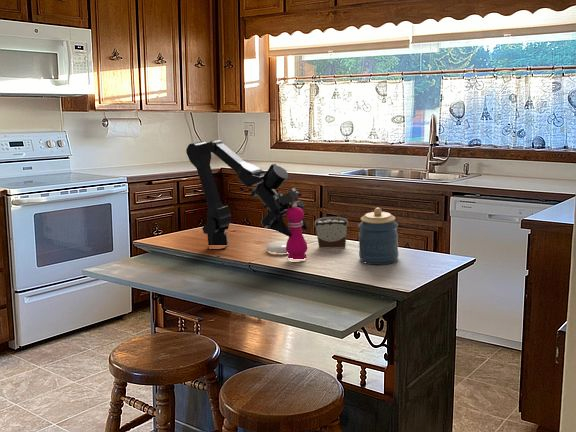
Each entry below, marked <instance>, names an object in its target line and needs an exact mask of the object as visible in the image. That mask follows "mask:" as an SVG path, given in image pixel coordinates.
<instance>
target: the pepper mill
mask: <svg viewBox="0 0 576 432" xmlns="http://www.w3.org/2000/svg"><path fill="white" fill-rule="evenodd" d="M293 202H294V203H293ZM293 202H292V203H291V204H292V207H291V208H289V207H288V208H289V209H288V210H287V212H286V215H285V218H286V219H287V227H288V229H289V230H290V232H291V234H292V236H291V237H289V236H288V239H287V240H286V241H287V244H286V251H287V252H288V253H289V254H288V255H287V259H288V258H293V259H304V258H307V254H306V252H307V251H308V244H307V240H306V239H305V237H304V235H303V230H302V229H303V228H302V225H303V221H302V219H303V218H304V217H305V213H304V209H303V210H302V209H301V208H299V207H297V203H295V202H296V201H293Z"/></svg>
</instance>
